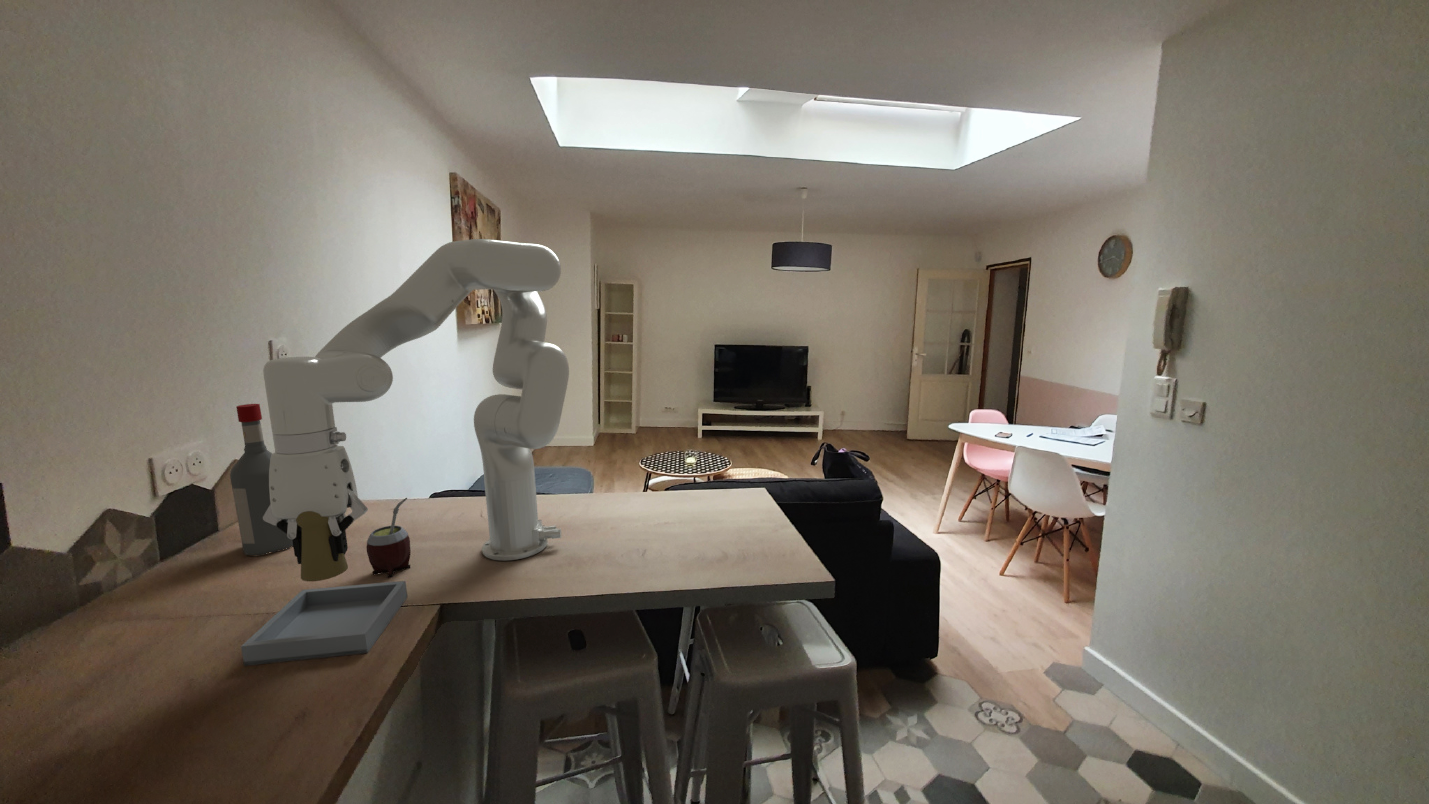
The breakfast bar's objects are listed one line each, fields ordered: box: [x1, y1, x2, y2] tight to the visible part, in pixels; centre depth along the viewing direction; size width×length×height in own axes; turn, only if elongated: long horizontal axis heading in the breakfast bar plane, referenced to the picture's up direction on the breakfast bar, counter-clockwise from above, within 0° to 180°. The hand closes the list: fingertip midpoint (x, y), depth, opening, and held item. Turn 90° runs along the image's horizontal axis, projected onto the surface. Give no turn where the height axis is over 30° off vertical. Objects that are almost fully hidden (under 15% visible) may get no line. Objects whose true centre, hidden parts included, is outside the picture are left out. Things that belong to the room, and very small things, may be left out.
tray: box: [240, 580, 408, 667], centre depth 89 cm, size 16×16×3 cm
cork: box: [296, 511, 349, 582], centre depth 87 cm, size 6×6×11 cm
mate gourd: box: [366, 497, 412, 579], centre depth 107 cm, size 8×8×15 cm
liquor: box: [229, 403, 293, 556], centre depth 118 cm, size 9×9×30 cm
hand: (322, 557), depth 87 cm, fingers closed on cork, 3 cm apart
